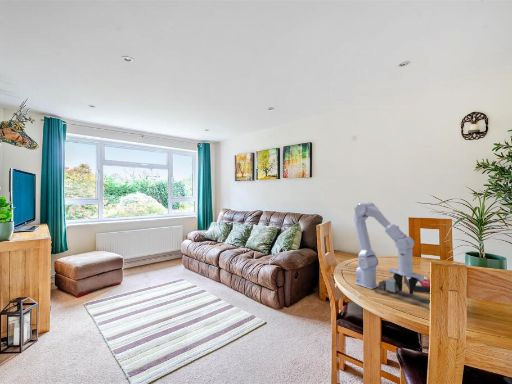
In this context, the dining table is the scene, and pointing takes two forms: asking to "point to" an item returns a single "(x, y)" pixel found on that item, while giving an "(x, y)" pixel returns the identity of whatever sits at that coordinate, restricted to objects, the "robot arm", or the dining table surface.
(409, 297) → the cord board
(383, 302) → the dining table surface
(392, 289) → the grey block
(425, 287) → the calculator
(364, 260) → the robot arm
